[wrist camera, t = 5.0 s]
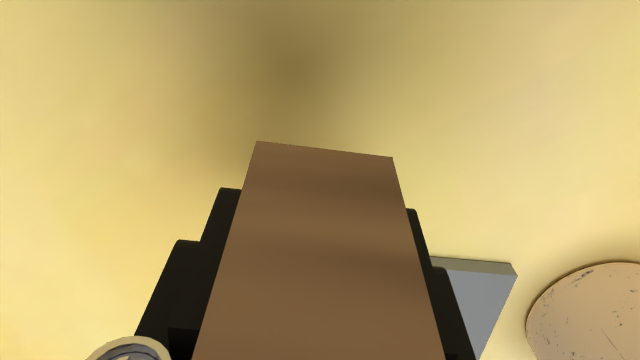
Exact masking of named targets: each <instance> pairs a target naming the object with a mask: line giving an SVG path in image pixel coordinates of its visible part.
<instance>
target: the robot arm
mask: <svg viewBox="0 0 640 360" xmlns="http://www.w3.org/2000/svg"><path fill="white" fill-rule="evenodd" d="M241 191H242V190H240V189H231V188H222V187H221V188H220V189H219V192H218V194H217V197H216V200H215V202H214V205H213V208H212V210H211V213H210V216H209V218H208V221H207V224H206V226H205V229H204V232H203V234H202V237H201V240H200V242H199V241H189V240H180V239H179V240H178V241H177V242H176V243H175V245H174V247H173V249H172V251H171V254H170V256H169V258H168V260H167V263H166V265H165V267H164V269H163V272H162V274H161V276H160V278H159V281H158V283H157V285H156V287H155V289H154V292H153V294H152V296H151V298H150V301H149V303H148V305H147V307H146V310H145V312H144V314H143V316H142V319H141V321H140V323H139V325H138V327H137V330H136V332H135V334H134V336H130V337H122V338H119V339H116V340H113V341H110V342H108V343H106V344H105V345H103V346H102V347H100V348H98V349H97V350H95V351H94V352H93V353H92V354H91V355H90V356H89V357H88V358H87V359H86V360H191V359H192V356H193V353H194V349H195V346H196V343H197V339H198V336H199V333H200V329H201V326H202V322H203V319H204V316H205V312H206V309H207V306H208V302H209V299H210V296H211V292H212V289H213V285H214V282H215V279H216V275H217V272H218V269H219V265H220V262H221V259H222V255H223V252H224V248H225V245H226V242H227V238H228V235H229V232H230V228H231V225H232V222H233V218H234V215H235V211H236V208H237V205H238V201H239V198H240V195H241ZM406 211H407V215H408V219H409V223H410V227H411V230H412V234H413V238H414V242H415V245H416V249H417V253H418V257H419V261H420V264H421V268H422V272H423V276H424V280H425V283H426V287H427V291H428V295H429V298H430V302H431V306H432V310H433V314H434V317H435V321H436V325H437V329H438V333H439V336H440V340H441V344H442V348H443V351H444V355H445V359H446V360H476V357H475V354H474V351H473V348H472V345H471V342H470V339H469V336H468V333H467V330H466V327H465V324H464V321H463V318H462V315H461V312H460V309H459V306H458V303H457V300H456V297H455V294H454V291H453V288H452V285H451V282H450V279H449V276H448V273H447V271H446V269H445V268H443V267H437V266H432V263H431V260H430V256H429V253H428V249H427V246H426V243H425V239H424V236H423V233H422V229H421V226H420V222H419V219H418V216H417V212H416V210H415V209H409V208H406Z"/></svg>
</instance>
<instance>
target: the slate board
mask: <svg viewBox="0 0 640 360" xmlns="http://www.w3.org/2000/svg"><path fill="white" fill-rule="evenodd" d="M430 260H431V263H432V266H437V267H443V268H445V269H446V271H447V273H448V276H449V279H450V282H451V285H452V288H453V291H454V294H455V297H456V300H457V303H458V306H459V309H460V312H461V315H462V318H463V321H464V324H465V327H466V330H467V333H468V336H469V339H470V342H471V345H472V348H473V351H474V354H475V357H476V360H479V359H480V356H481V354H482V352H483V350H484V348H485V346H486V343H487V341H488V339H489V337H490V335H491V333H492V330H493V328H494V326H495V324H496V322H497V320H498V317H499V315H500V313H501V311H502V309H503V307H504V304H505V302H506V300H507V298H508V296H509V294H510V291H511V289H512V287H513V285H514V283H515V281H516V278H517V274H516V272H515V270H514V269H513V267H512V265H511V264H508V263H497V262H485V261H474V260H463V259H452V258H440V257H430Z"/></svg>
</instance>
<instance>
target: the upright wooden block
mask: <svg viewBox="0 0 640 360" xmlns="http://www.w3.org/2000/svg"><path fill="white" fill-rule="evenodd" d="M191 360H446V359H445V355H444V351H443V348H442V344H441V340H440V336H439V333H438V329H437V325H436V321H435V317H434V314H433V310H432V306H431V302H430V298H429V295H428V291H427V287H426V283H425V280H424V276H423V272H422V268H421V264H420V261H419V257H418V253H417V249H416V245H415V242H414V238H413V234H412V230H411V227H410V223H409V219H408V215H407V211H406V208H405V204H404V200H403V196H402V193H401V189H400V185H399V181H398V177H397V174H396V170H395V166H394V162H393V158H392V157H386V156H378V155H369V154H361V153H352V152H344V151H336V150H327V149H319V148H311V147H302V146H294V145H285V144H277V143H269V142H260V141H256V144H255V148H254V151H253V154H252V158H251V161H250V164H249V168H248V171H247V175H246V178H245V181H244V185H243V188H242V191H241V195H240V198H239V201H238V205H237V208H236V211H235V215H234V218H233V222H232V225H231V228H230V232H229V235H228V238H227V242H226V245H225V248H224V252H223V255H222V259H221V262H220V265H219V269H218V272H217V275H216V279H215V282H214V285H213V289H212V292H211V296H210V299H209V302H208V306H207V309H206V312H205V316H204V319H203V322H202V326H201V329H200V333H199V336H198V339H197V343H196V346H195V349H194V353H193V356H192V359H191Z"/></svg>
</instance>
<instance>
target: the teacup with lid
mask: <svg viewBox="0 0 640 360" xmlns="http://www.w3.org/2000/svg"><path fill="white" fill-rule="evenodd" d="M526 335H527V339H528V342H529V344H530V346H531V348H532V350H533V352H534V354H535V356H536V358H537V360H640V265H639V264H634V263H623V262H616V263H606V264H600V265H595V266H591V267H588V268H585V269H582V270H579V271H577V272H575V273H572V274H570V275H568V276H566V277H564V278H563V279H561V280H560V281H558V282H557V283H555V284H554V285H552V286H551V287H550V288H549V289H547V290H546V291H545V292H544V293H543V294H542V295H541V296H540V297H539V299H538V300H537V301H536V303H535V304H534V306H533V307H532V309H531V311H530V313H529V316H528V319H527V323H526Z"/></svg>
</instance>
